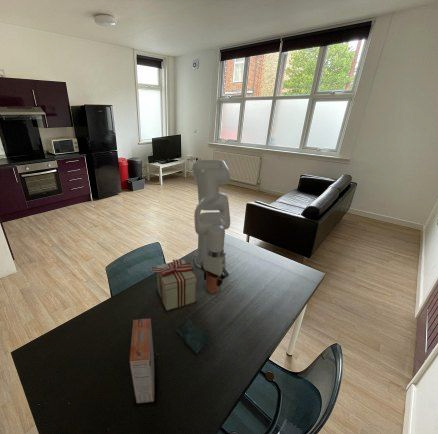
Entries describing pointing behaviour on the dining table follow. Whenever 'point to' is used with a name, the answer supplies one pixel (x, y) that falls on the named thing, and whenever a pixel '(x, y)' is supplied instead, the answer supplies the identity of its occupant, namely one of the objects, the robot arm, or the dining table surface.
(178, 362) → the dining table surface
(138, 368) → the cracker box
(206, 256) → the robot arm
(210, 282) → the cup
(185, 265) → the gift box
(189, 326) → the terrain model
